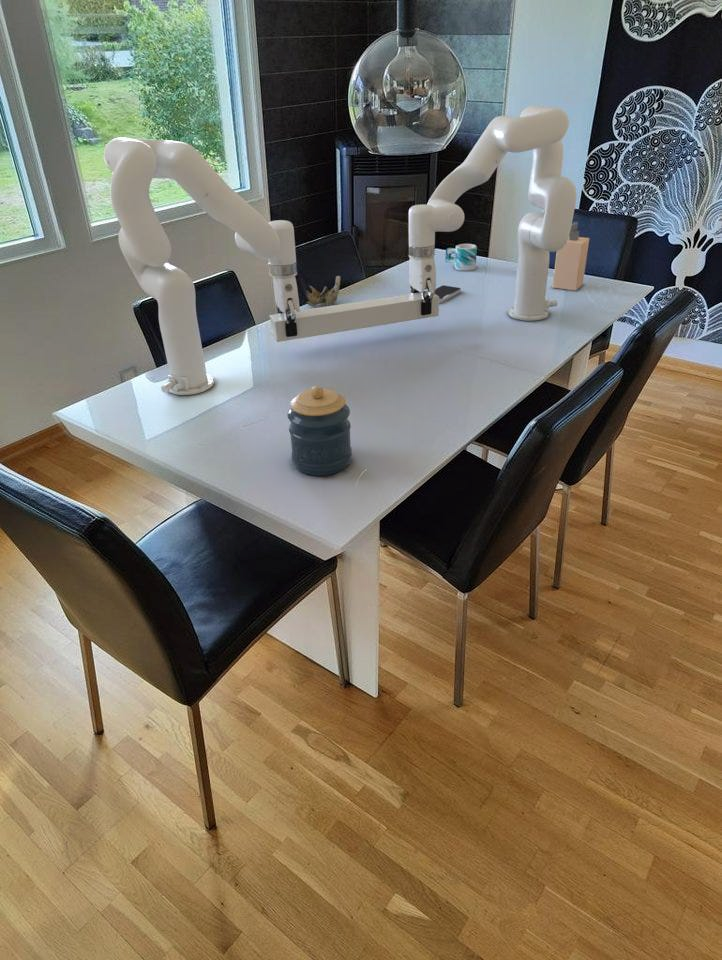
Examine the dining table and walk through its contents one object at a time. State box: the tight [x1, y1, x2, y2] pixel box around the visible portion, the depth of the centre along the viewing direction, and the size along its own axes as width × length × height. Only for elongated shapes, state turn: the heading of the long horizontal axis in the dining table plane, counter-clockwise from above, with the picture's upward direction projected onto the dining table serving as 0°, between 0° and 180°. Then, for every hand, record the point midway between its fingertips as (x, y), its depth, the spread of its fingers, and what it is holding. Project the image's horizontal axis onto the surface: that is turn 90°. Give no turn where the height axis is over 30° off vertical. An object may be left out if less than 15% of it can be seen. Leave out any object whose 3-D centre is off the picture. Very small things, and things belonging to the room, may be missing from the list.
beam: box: [269, 292, 440, 343], centre depth 198 cm, size 51×6×6 cm, turn 110°
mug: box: [445, 243, 478, 272], centre depth 265 cm, size 8×12×8 cm
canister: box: [287, 385, 353, 476], centre depth 141 cm, size 13×13×18 cm
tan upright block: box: [552, 221, 590, 292], centre depth 235 cm, size 13×9×22 cm
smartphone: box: [434, 285, 462, 304], centre depth 237 cm, size 8×1×15 cm
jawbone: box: [305, 275, 341, 307], centre depth 232 cm, size 9×15×10 cm
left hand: (288, 331), depth 193 cm, fingers closed on beam, 6 cm apart
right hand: (421, 310), depth 204 cm, fingers closed on beam, 6 cm apart
